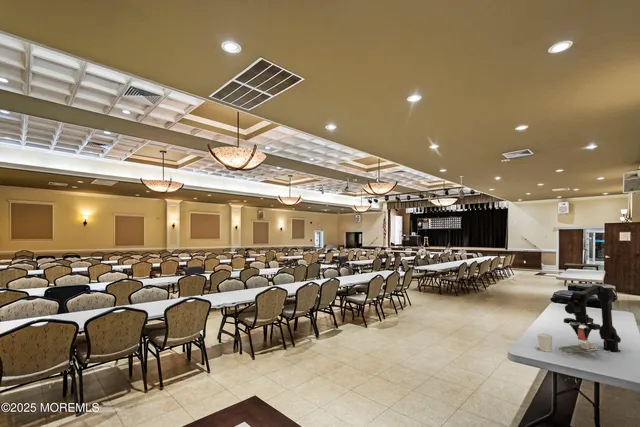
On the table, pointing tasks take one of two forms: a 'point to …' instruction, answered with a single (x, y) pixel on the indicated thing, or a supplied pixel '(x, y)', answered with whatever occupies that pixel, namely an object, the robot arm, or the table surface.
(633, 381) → the table surface
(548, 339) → the white cup
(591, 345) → the toggle
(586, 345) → the toggle
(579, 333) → the cap
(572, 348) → the frame
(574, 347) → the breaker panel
